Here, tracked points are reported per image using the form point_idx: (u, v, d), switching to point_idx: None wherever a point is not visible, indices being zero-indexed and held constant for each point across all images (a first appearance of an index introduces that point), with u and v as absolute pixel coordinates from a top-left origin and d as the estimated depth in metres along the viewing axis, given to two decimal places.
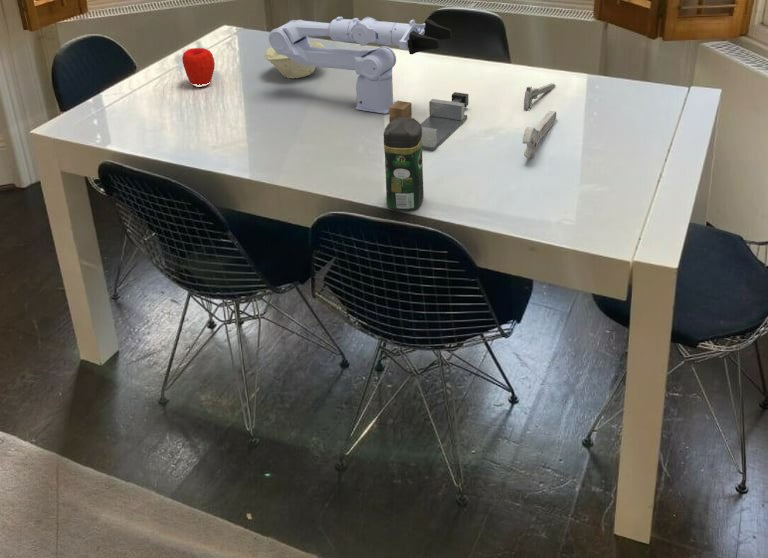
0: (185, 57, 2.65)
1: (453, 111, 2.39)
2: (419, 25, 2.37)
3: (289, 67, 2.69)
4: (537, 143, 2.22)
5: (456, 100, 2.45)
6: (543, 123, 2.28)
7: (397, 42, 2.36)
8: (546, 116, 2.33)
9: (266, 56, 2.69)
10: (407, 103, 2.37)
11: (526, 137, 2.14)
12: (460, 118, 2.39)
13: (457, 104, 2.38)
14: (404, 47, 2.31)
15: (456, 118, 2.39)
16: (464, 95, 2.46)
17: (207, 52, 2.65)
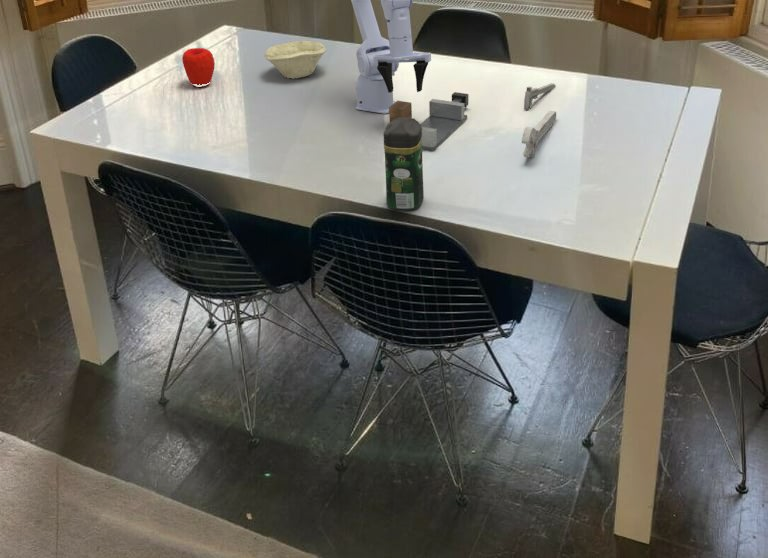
0: (185, 57, 2.65)
1: (453, 111, 2.39)
2: (411, 58, 2.28)
3: (289, 68, 2.69)
4: (536, 143, 2.22)
5: (456, 100, 2.45)
6: (543, 123, 2.28)
7: None
8: (546, 116, 2.33)
9: (266, 56, 2.69)
10: (407, 103, 2.37)
11: (525, 137, 2.14)
12: (460, 118, 2.39)
13: (457, 104, 2.38)
14: None
15: (456, 118, 2.39)
16: (464, 95, 2.46)
17: (207, 52, 2.65)
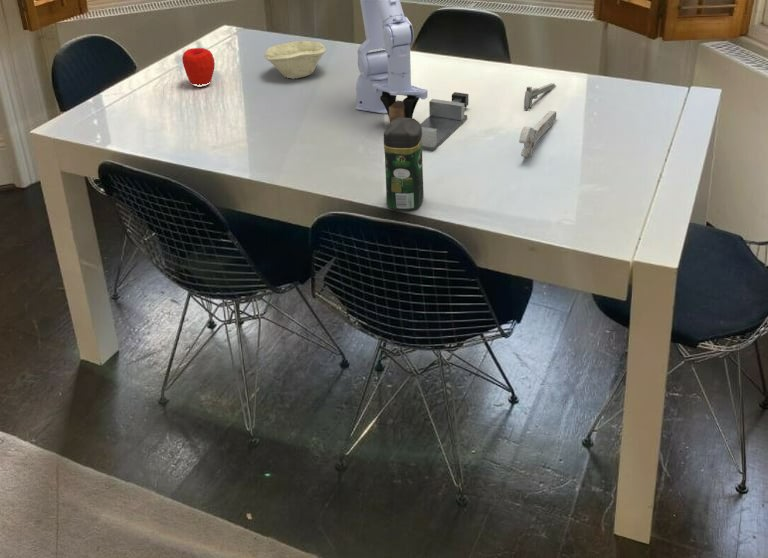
0: (185, 57, 2.65)
1: (453, 111, 2.39)
2: None
3: (289, 68, 2.69)
4: None
5: (456, 100, 2.45)
6: (542, 123, 2.28)
7: None
8: (545, 116, 2.33)
9: (266, 56, 2.69)
10: None
11: (523, 136, 2.14)
12: (460, 118, 2.39)
13: (457, 104, 2.38)
14: None
15: (456, 118, 2.39)
16: (464, 95, 2.46)
17: (207, 52, 2.65)
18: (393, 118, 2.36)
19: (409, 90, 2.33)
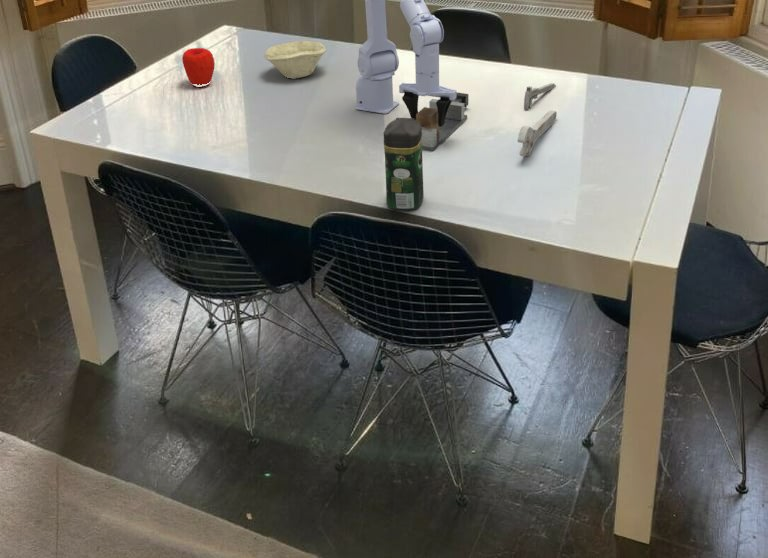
0: (185, 57, 2.65)
1: (453, 111, 2.39)
2: None
3: (289, 68, 2.69)
4: (534, 142, 2.23)
5: (456, 100, 2.45)
6: (541, 122, 2.28)
7: None
8: (545, 116, 2.34)
9: (266, 56, 2.69)
10: (435, 110, 2.30)
11: (521, 136, 2.14)
12: (460, 118, 2.39)
13: (457, 104, 2.38)
14: None
15: (456, 118, 2.39)
16: (464, 95, 2.46)
17: (207, 52, 2.65)
18: None
19: (437, 91, 2.24)
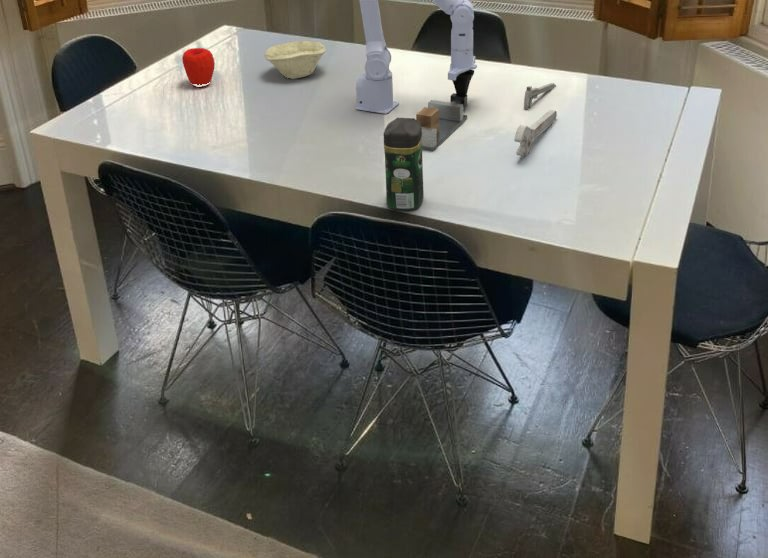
0: (185, 57, 2.65)
1: (451, 112, 2.38)
2: None
3: (289, 68, 2.69)
4: (531, 142, 2.23)
5: (455, 101, 2.45)
6: (540, 122, 2.28)
7: (454, 56, 2.40)
8: (545, 115, 2.34)
9: (266, 56, 2.69)
10: (435, 110, 2.30)
11: (518, 135, 2.15)
12: (459, 119, 2.38)
13: (456, 105, 2.37)
14: (449, 78, 2.39)
15: (455, 119, 2.39)
16: (463, 96, 2.45)
17: (207, 52, 2.65)
18: None
19: None
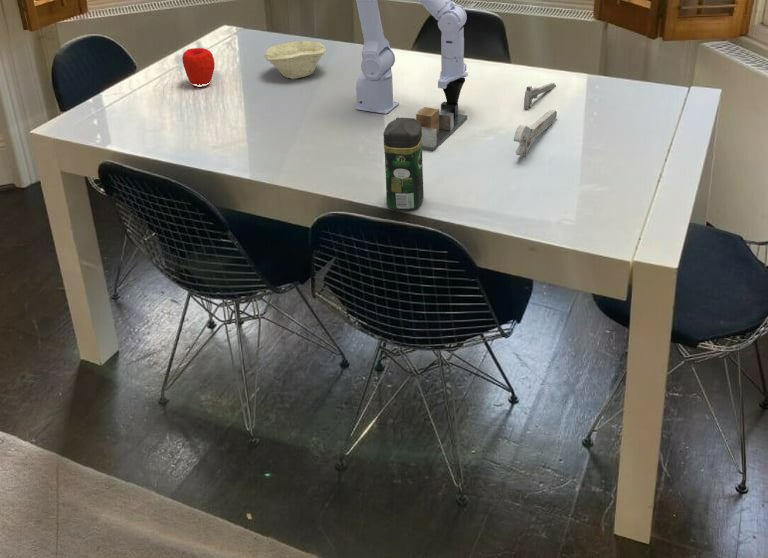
0: (185, 57, 2.65)
1: (442, 121, 2.33)
2: None
3: (289, 68, 2.69)
4: (531, 141, 2.23)
5: (445, 110, 2.40)
6: (540, 122, 2.28)
7: (444, 63, 2.35)
8: (545, 115, 2.34)
9: (266, 56, 2.69)
10: (435, 110, 2.30)
11: (517, 135, 2.15)
12: (449, 128, 2.33)
13: (446, 114, 2.32)
14: (439, 86, 2.34)
15: (445, 128, 2.34)
16: (453, 104, 2.40)
17: (207, 52, 2.65)
18: None
19: None
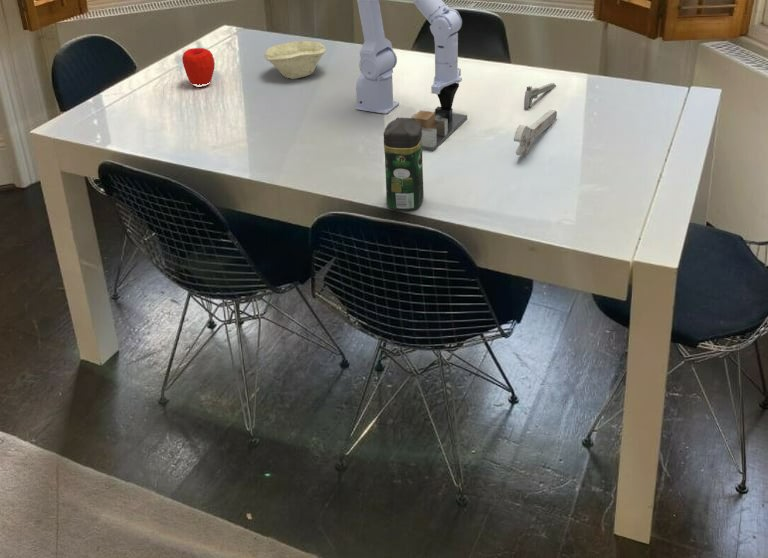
0: (185, 57, 2.65)
1: (436, 127, 2.30)
2: None
3: (289, 68, 2.69)
4: (531, 141, 2.23)
5: (439, 115, 2.37)
6: (540, 122, 2.28)
7: (438, 68, 2.32)
8: (545, 115, 2.34)
9: (266, 56, 2.69)
10: (431, 113, 2.28)
11: (517, 135, 2.15)
12: (443, 134, 2.30)
13: (440, 119, 2.30)
14: (433, 92, 2.31)
15: (439, 134, 2.31)
16: (448, 110, 2.37)
17: (207, 52, 2.65)
18: None
19: None
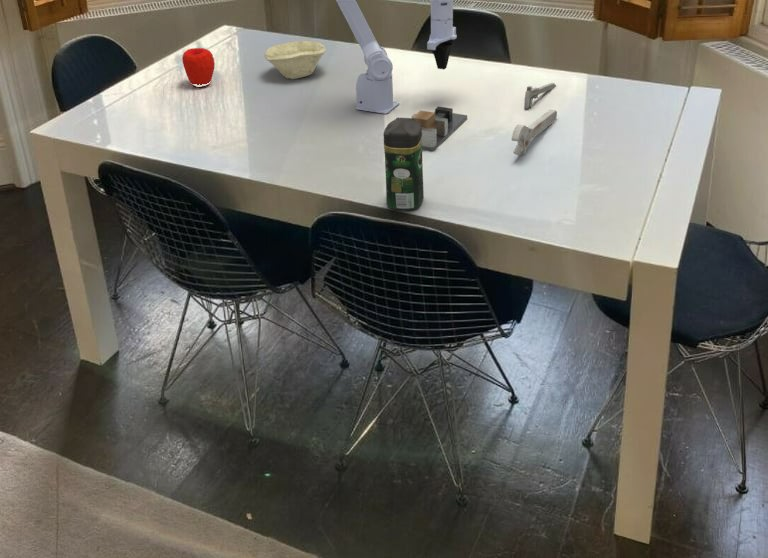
0: (185, 57, 2.65)
1: (436, 127, 2.30)
2: None
3: (289, 68, 2.69)
4: (529, 141, 2.24)
5: (439, 115, 2.37)
6: (539, 121, 2.29)
7: (433, 25, 2.41)
8: (544, 115, 2.34)
9: (266, 56, 2.69)
10: (431, 113, 2.28)
11: (515, 134, 2.15)
12: (443, 134, 2.30)
13: (440, 119, 2.30)
14: (429, 48, 2.39)
15: (439, 134, 2.31)
16: (448, 110, 2.38)
17: (207, 52, 2.65)
18: None
19: None
